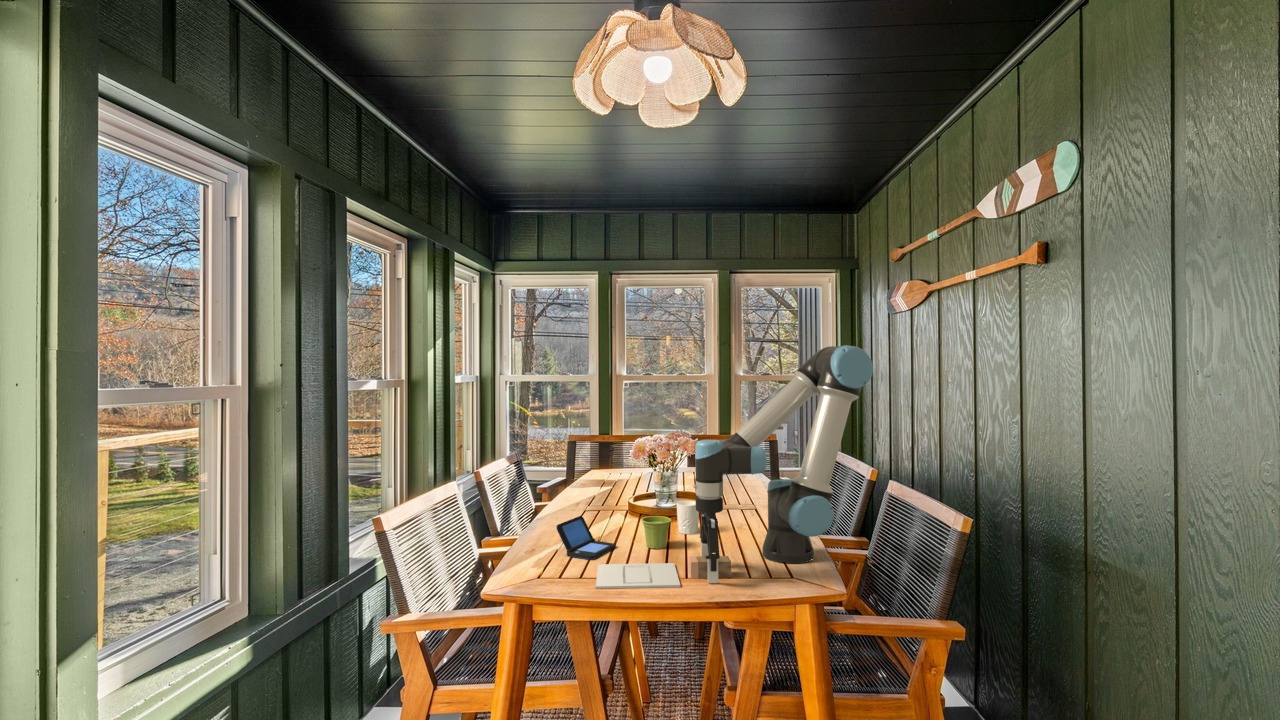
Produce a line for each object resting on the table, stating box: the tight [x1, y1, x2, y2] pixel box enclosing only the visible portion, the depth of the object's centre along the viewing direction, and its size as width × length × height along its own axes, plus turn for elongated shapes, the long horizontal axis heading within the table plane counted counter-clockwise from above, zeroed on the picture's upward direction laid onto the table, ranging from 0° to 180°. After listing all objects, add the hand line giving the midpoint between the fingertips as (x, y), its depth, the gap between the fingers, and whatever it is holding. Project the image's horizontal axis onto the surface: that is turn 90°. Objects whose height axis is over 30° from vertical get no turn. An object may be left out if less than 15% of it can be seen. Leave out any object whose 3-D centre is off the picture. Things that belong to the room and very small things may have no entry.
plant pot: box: [641, 515, 672, 550], centre depth 203 cm, size 9×9×9 cm
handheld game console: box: [556, 515, 617, 560], centre depth 199 cm, size 16×13×9 cm
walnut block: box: [688, 555, 732, 580], centre depth 176 cm, size 11×5×4 cm, turn 92°
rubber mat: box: [595, 562, 681, 589], centre depth 175 cm, size 22×18×1 cm
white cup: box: [676, 500, 700, 535], centre depth 221 cm, size 8×8×10 cm
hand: (709, 574), depth 176 cm, fingers open, 12 cm apart
